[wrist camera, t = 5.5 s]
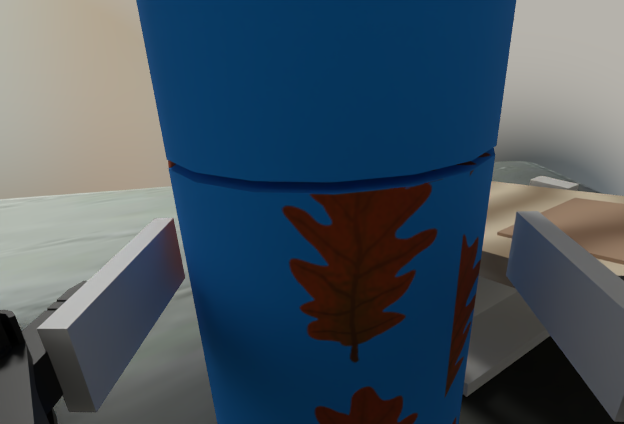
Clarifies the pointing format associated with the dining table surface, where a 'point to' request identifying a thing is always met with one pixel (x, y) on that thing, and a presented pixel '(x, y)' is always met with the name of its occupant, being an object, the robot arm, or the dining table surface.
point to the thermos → (331, 196)
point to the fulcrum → (502, 322)
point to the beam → (561, 212)
